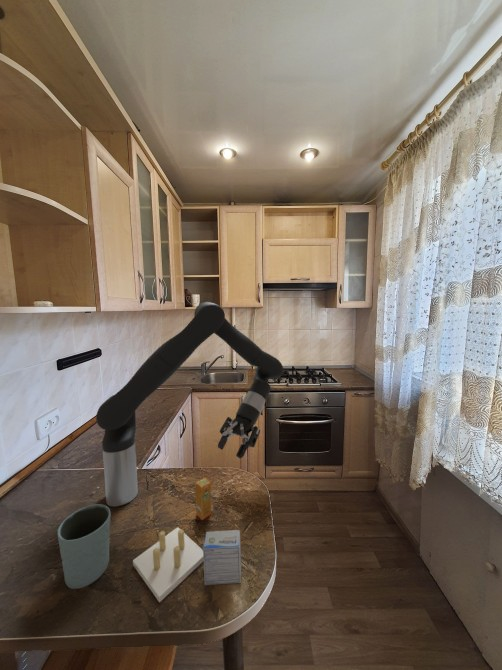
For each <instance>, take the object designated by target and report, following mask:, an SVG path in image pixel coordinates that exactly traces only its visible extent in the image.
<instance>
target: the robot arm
mask: <svg viewBox="0 0 502 670" xmlns="http://www.w3.org/2000/svg"><path fill="white" fill-rule="evenodd" d="M193 313H194V314H193V315H194V316H193V318H192V319H191V320H190V321H189V323H188V324H186V326H185V327H184V328H183V329H182V330H181V331H180V332H179V333H177V334H175V335H174V336H173V337H171V338H169V339H168V340H167V341H164V343H162V344H161V345H160V346H159V347H158V348H157V349H155V351H154V352H153V353H151V355H150V356H148V358H147V359H146V360H145V361H144V362H143V363H142V364H141V365H140V367H139V368H138V369H137V371H136V372H135V373H134V374H133V376H132V377H131V378H130V379H129V381H128V382H127V383H126V384H125V385H124V386H123V387H122V388H121V389H119V391H118V392H116V393H115V394H113V395H111V396H110V397H108V398H107V399H106V400H105V401H104V402H102V404H101V405H100V406H99V408H98V410H97V411H96V416H95V417H96V418H95V420H96V424H97V425H98V427H99V428H101V429H102V430H104V434H103V438H102V441H101V446H102V460H103V461H102V462H103V473H104V475H103V476H104V487H105V503H106V504H107V505H108V507H120V506H123V505H126V504H128V503H130V502H132V501H133V500H134V499H135V498H136V497H137V496H138V493H139V487H138V485H139V484H138V472H137V471H138V470H137V455H136V454H137V453H136V430H137V429H136V428H137V425H136V424H137V423H136V410H138V408H139V407H140V405H142V404H143V402H144V401H145V400H146V399H147V398H148V397H149V396H150V395H152V394H153V393H155V392H156V390H158V389H159V388H160V387H161V386H162V385H163V384H164V383H165V382H167V381H168V380H169V379H170V378H171V377H172V376H173V375H174V374H175V373H176V372H177V371H178V370H179V368H181V366H182V365H183V364H184V363H185V362H186V361H187V360H188V359H190V357H191V355H192V354H193V353H194V352H195V351H196V350H197V349H198V347H200V346H201V344H203V343H204V342H205V341H206V340H208V338H210V337H211V336H212V335H213V334H214V335H216V336H217V337H219V338H220V339H221V340H222V341H224V342H225V343H226V344H227V345H228V346H229V347H230V348H231V349H232V350H233V351H234V352H235V353H236V354H237V355H238V356H239V357H241V358H242V359H243V360H245V362H246V363H248V364H249V365H251V366H253V367H256V369H255V373H254V377H253V381H252V384H251V385H250V387H249V390H248V391H247V393H246V394H245V396H244V397H243V400H242V402H241V403H240V405H239V408H238V409H237V411H236V413H235V418H231V417H230V416H227V417H226V418H225V421H224V423H223V424H222V426H221V428H220V429H219V433H220V434H221V438H220V440H219V442H218V444H217V448H218V449H220V451H221V450H223V449H224V448H225V446H226V444H227V442H228V439H229V438H231V437H233V436H235V435H236V436H240V437H241V440H242V441H241V442H242V444H240V445H239V448H238V450H237V452H236V455H235V457H237V458H238V459H242V458H243V457H244V456H245V454H246V452H247V450H248V448H254V447H255V445H256V443H257V442H258V441H257V440H258V439H259V435H260V433H261V429H260V428H259V427H258V426H256V424H257V421H258V419H259V418H260V415H261V414H262V411H263V409H264V406H265V403H266V401H267V399H268V396H269V394H270V392H271V389H272V388H271V385H270V383H269V382H268V381H269V380H270V379H271V380H273V379H279V378H281V376H283V374H284V366H283V364H282V362H281V361H280V360H279V359H278V358H277V357H275V356H273V355H271V354H270V353H267V352H266V351H265V350H263V349H261V348H260V347H259V346H258V344H256V343H255V342H254V341H253V340H251V339H250V338H249V337H248V336H246V335H245V334H244V333H243V332H241V331H240V330H239V329H238V328H236V327H235V326H233V324H231V323H230V321H229V320H227V319H226V315H225V311H224V309H223V308H222V307H221V306H220V305H219V304H218V303H217V304H216V303H215V302H210V301H205V302H201V303H200V304H199V305H197V306H196V308H195V310H194V312H193Z"/></svg>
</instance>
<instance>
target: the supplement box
mask: <svg viewBox="0 0 502 670" xmlns="http://www.w3.org/2000/svg"><path fill="white" fill-rule="evenodd" d="M211 485H212V484H211V482H210V481H209V479H207V478H206V477H203V478H202V479H201V480H198V481H196V482H195V514H196V516H197V517H198V518H199V519H200V520H201V521H204V520H205V519H207V518H208V517H209V516H211V515H212V497H211V496H212V491H211V489H212V486H211Z"/></svg>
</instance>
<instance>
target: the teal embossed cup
mask: <svg viewBox="0 0 502 670" xmlns="http://www.w3.org/2000/svg"><path fill="white" fill-rule="evenodd" d="M111 514H112V513H111V509H110V508H109V506H107V505H106V504H103V503H99V504H98V503H96V504H91V505H90V504H89V505H87V506H84V507H81V508H80V509H77V510H76V511H74V512H72V513H71V514H69V515H68V516H67V517H66V518H65V519H64V520H63V521H62V522H61V523H60V525H59V527H58V529H57V539H58V540H57V541H58V544H59V545H58V546H59V553H60V558H61V560H62V561H61V565H62V571H63V576H64V578H63V579H64V583H65V585H66V586H67V587H68V588H69V589H72V590H76V589H83V588H85V587H87V586H89V585H92V584H93V583H94V582H95V581H97V580H98V579H99V578H100V577H101V576H102V575H103V574H104V572H106V570H107V569H108V566H109V563H110V537H111V535H110V533H111Z"/></svg>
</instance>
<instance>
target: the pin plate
mask: <svg viewBox="0 0 502 670" xmlns="http://www.w3.org/2000/svg"><path fill="white" fill-rule="evenodd" d="M158 539H159V540H158V541H157V542H156V543H154V544H153V545H151V546H150V547H149V548H148V549H146V550H145V551H143V552H142V553H141V554H139V555H138V556H137V557H136V558H134V559H133V560H132V566H133V567H134V569H135V570H136V571H137V573H138V575H139V576H140V577H141V579H142V580H143V581H144V583H145V584H146V586H147V587H148V589H149V590H150V591H151V593H152V594H153V596H155V599H156V600H157V601H158V602H159V603H161V602H162V601H163V600H164V599H165V598H166V597H167V596H169V594H170V593H171V592H172V591H174V590H175V589H176V588H177V587H178V586H179V585H180V584H181V583H182V582H183V581H184V580H185V579H186V578H187V577H188V576H189V575H191V573H193V572H194V571H196V569H197V568H198V567H199V566H200V565H201V564H202V563H204V559H203V548H201V547H200V546H199V545H198V544H197V543H196V542H195V541H193V540H192V538H191V537H189V536H188V535H187V534H186V533H185V530H184V529H181V528H179V526H177V527H176V528H174V529H173V530H171V531H170V532H169V533H168V534H166V532H165V531H164V530H162V531H160V532H159V533H158Z"/></svg>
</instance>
